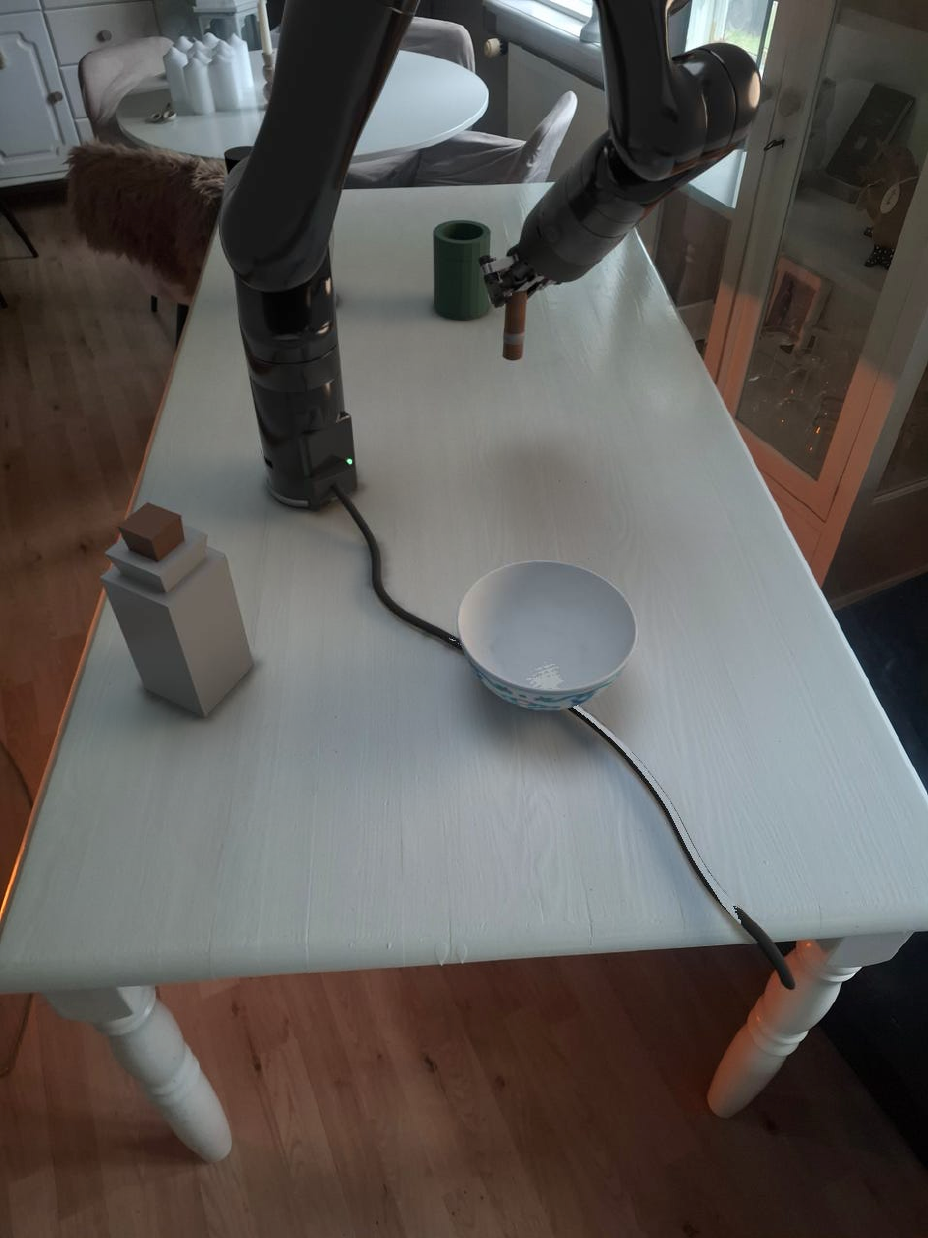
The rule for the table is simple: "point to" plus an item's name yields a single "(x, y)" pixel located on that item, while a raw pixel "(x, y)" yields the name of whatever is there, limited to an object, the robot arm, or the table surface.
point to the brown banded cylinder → (514, 326)
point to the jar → (460, 269)
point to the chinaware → (546, 632)
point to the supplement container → (236, 156)
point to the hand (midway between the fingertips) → (506, 295)
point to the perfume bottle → (177, 609)
